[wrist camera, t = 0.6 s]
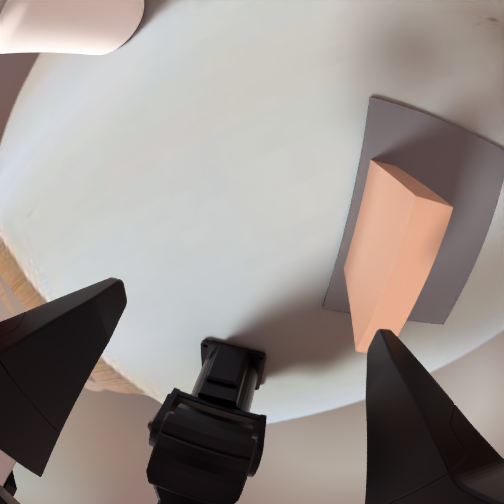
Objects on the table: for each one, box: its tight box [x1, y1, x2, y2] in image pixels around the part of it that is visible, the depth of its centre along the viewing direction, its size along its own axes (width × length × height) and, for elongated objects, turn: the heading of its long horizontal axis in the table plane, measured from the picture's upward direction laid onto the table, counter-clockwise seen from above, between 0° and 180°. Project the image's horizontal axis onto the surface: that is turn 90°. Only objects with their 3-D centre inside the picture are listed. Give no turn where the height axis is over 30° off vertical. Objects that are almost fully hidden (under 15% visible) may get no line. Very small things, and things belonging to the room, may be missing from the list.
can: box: [0, 0, 144, 55], centre depth 8 cm, size 6×6×12 cm
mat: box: [323, 97, 504, 324], centre depth 17 cm, size 16×12×1 cm
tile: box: [344, 160, 453, 353], centre depth 14 cm, size 8×2×8 cm, turn 175°
